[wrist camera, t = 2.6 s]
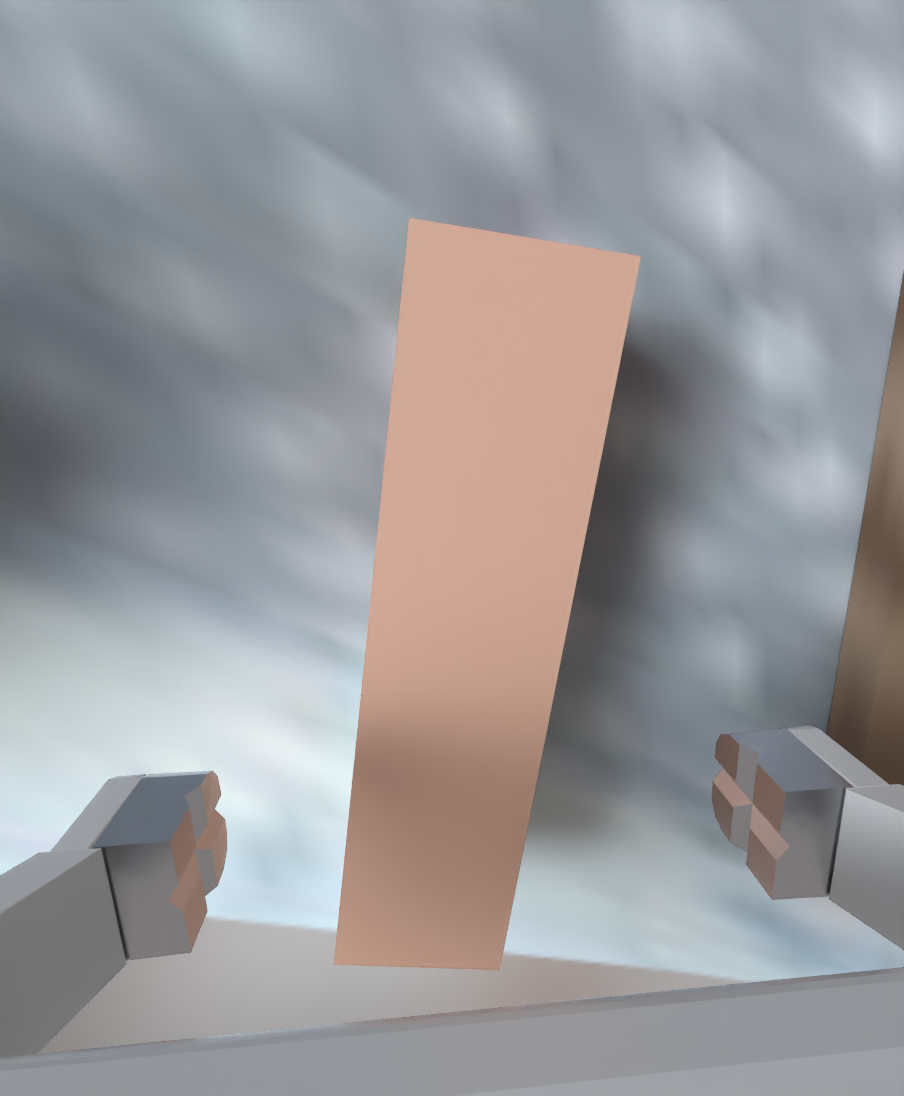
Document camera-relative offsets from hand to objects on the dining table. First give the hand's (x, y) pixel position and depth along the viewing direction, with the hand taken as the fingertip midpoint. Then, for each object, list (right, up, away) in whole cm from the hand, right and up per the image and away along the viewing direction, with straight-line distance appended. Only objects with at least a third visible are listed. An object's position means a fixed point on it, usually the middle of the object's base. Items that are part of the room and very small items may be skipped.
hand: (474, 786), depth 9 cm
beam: (0, +3, +7) cm, 8 cm away
